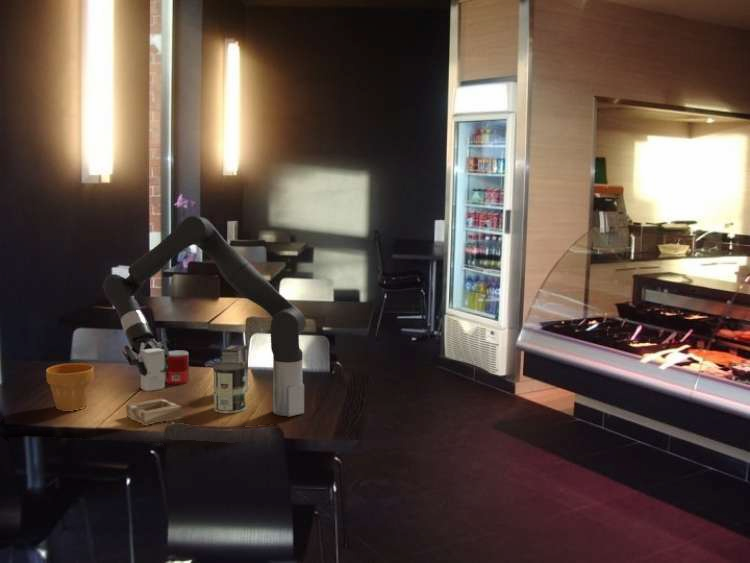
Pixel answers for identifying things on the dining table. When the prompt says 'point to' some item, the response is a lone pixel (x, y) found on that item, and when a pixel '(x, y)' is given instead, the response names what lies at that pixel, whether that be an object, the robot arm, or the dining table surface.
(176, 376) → the canned food
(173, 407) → the frame
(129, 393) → the dining table surface
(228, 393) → the coffee can
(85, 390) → the flower pot
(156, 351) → the skincare box
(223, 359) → the coffee box
